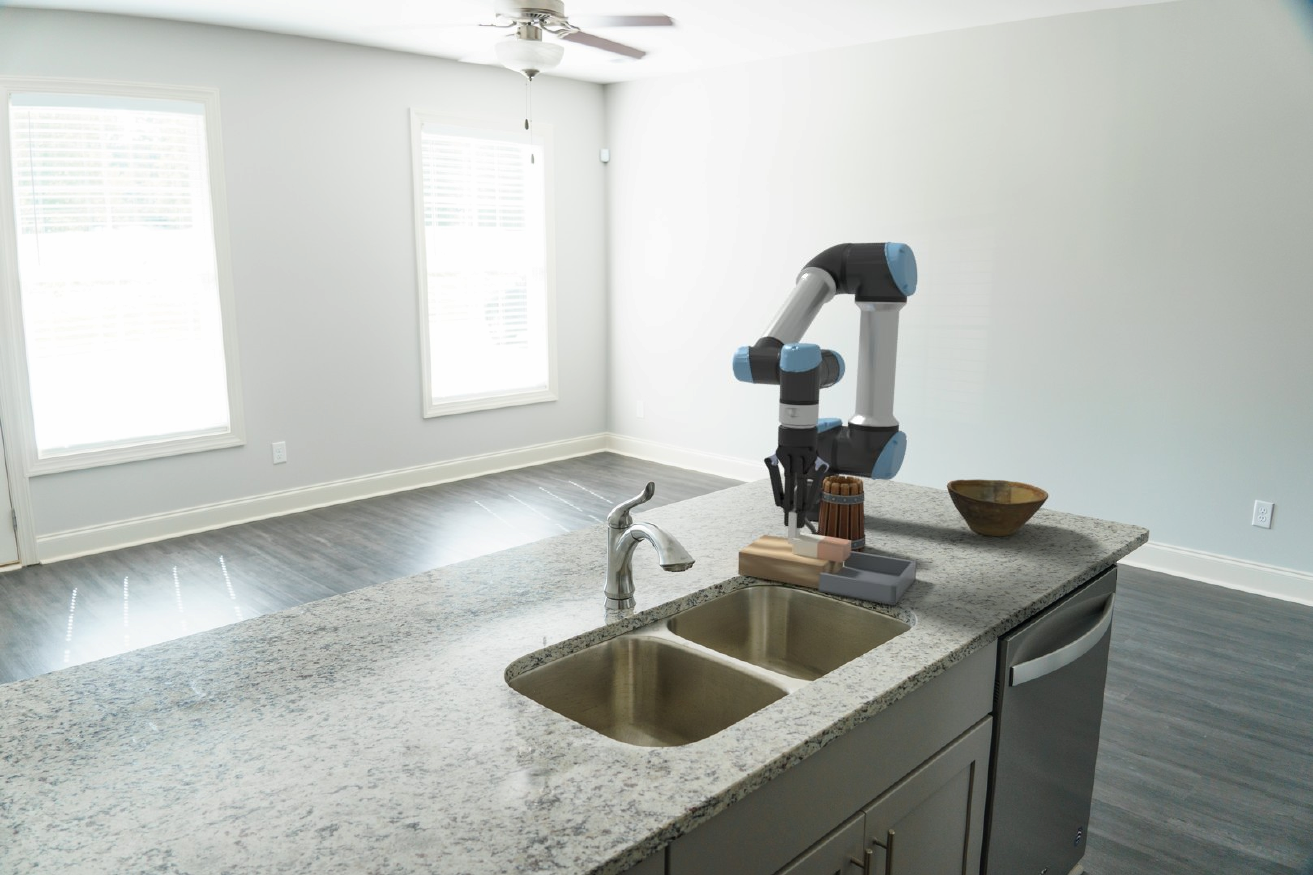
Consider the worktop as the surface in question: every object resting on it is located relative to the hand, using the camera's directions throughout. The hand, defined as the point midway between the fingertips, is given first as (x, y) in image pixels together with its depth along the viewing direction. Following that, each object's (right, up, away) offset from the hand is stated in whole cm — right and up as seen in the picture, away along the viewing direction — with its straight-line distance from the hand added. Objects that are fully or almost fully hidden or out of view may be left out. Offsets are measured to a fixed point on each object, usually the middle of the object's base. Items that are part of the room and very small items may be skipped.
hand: (793, 542), depth 174 cm
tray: (+13, -7, -6) cm, 16 cm away
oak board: (0, -6, +1) cm, 6 cm away
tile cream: (+3, -2, -1) cm, 4 cm away
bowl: (+50, -1, +29) cm, 58 cm away
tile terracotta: (+7, -2, -4) cm, 8 cm away
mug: (+10, -3, +17) cm, 20 cm away
